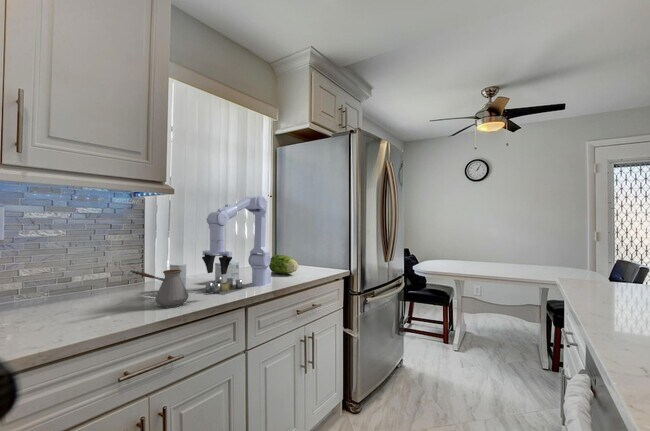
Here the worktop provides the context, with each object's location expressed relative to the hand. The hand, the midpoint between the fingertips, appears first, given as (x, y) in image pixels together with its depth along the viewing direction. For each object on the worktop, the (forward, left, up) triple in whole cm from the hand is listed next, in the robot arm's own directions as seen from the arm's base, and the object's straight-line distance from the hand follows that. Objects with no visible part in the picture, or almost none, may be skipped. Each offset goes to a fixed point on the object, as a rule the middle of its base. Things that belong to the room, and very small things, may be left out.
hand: (216, 273), depth 129 cm
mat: (-11, -9, -10) cm, 17 cm away
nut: (-11, -6, -10) cm, 16 cm away
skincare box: (-3, -27, -10) cm, 29 cm away
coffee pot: (+20, -8, -10) cm, 24 cm away
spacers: (-11, -9, -10) cm, 17 cm away
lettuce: (-62, -8, -10) cm, 63 cm away
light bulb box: (-27, -20, -10) cm, 35 cm away
